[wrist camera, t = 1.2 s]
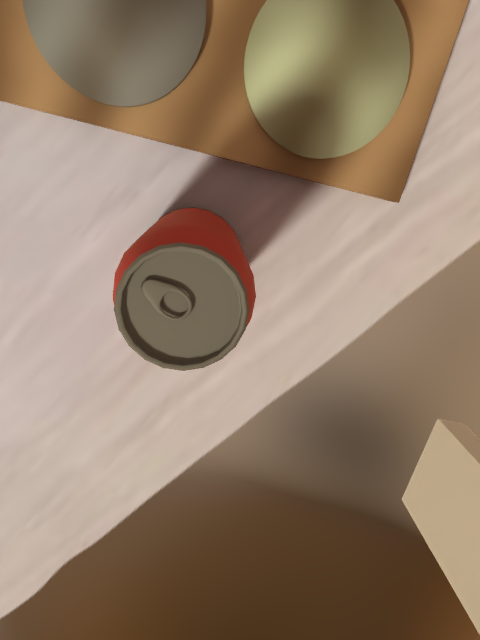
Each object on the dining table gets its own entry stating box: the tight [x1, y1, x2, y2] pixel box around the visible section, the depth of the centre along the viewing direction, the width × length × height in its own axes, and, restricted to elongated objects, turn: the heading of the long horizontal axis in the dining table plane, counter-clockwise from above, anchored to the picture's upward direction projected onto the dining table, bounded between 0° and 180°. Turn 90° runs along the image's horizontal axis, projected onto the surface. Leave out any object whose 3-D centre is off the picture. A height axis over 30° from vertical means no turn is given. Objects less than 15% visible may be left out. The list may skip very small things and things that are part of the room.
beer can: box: [113, 207, 256, 371], centre depth 23 cm, size 7×7×12 cm
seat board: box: [0, 0, 469, 203], centre depth 24 cm, size 26×12×2 cm, turn 77°
